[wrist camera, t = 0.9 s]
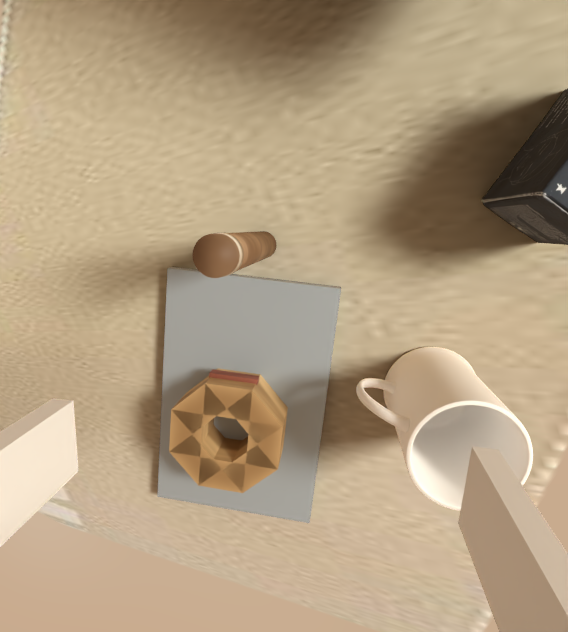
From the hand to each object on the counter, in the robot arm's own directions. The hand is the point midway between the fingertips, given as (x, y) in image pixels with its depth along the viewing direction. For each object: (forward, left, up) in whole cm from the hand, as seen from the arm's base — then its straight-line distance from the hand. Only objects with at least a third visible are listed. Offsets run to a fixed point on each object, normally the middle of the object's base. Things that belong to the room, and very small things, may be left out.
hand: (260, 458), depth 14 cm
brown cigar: (-5, -5, -26) cm, 27 cm away
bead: (+12, -6, -25) cm, 28 cm away
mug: (+6, +11, -27) cm, 29 cm away
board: (+10, -5, -26) cm, 28 cm away
